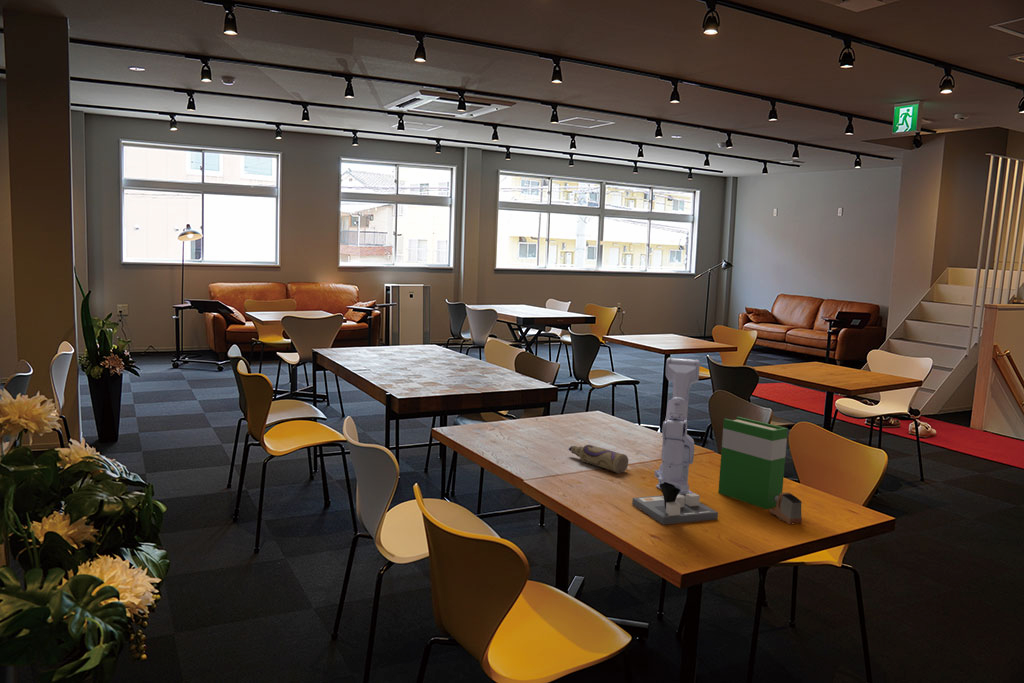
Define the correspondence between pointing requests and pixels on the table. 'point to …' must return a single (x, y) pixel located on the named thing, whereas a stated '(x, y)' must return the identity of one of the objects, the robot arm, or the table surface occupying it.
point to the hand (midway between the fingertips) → (669, 508)
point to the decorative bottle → (601, 457)
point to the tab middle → (680, 500)
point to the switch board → (687, 514)
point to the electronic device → (787, 508)
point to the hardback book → (752, 461)
